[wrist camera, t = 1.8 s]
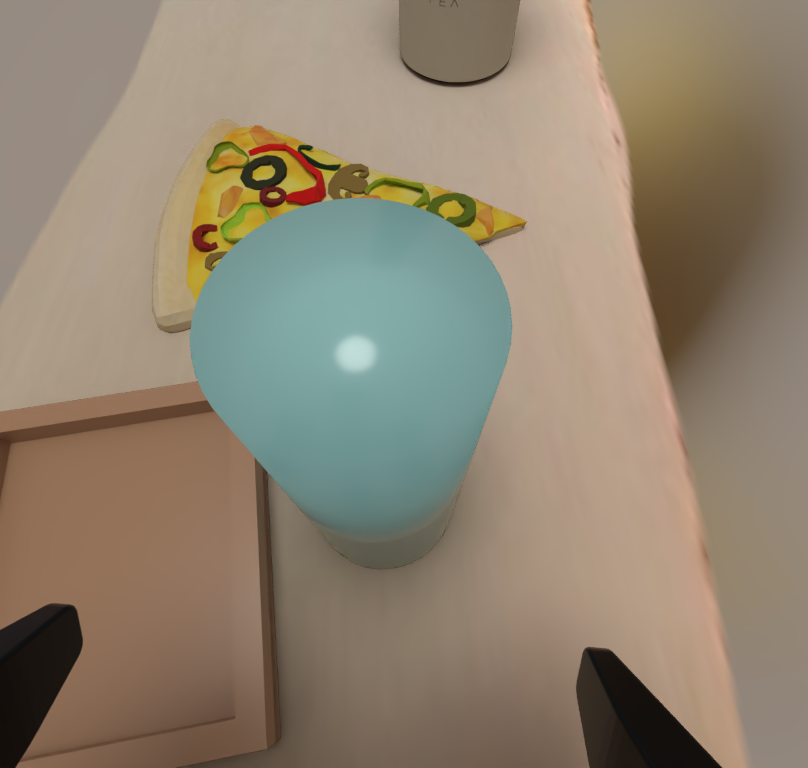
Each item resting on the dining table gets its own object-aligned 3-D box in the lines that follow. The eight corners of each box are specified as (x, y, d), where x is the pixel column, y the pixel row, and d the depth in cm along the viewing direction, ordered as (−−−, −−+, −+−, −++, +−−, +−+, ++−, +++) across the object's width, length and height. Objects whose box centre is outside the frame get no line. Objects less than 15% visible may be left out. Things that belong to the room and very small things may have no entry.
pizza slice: (203, 140, 33) (185, 97, 31) (515, 147, 33) (525, 104, 30) (137, 338, 27) (107, 305, 24) (531, 353, 26) (545, 321, 23)
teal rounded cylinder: (466, 554, 21) (554, 435, 8) (322, 581, 20) (186, 498, 8) (437, 422, 24) (470, 181, 11) (309, 443, 23) (192, 218, 11)
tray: (280, 737, 18) (266, 749, 16) (-69, 808, 17) (-124, 829, 15) (262, 392, 24) (250, 373, 22) (4, 432, 23) (-29, 416, 22)
